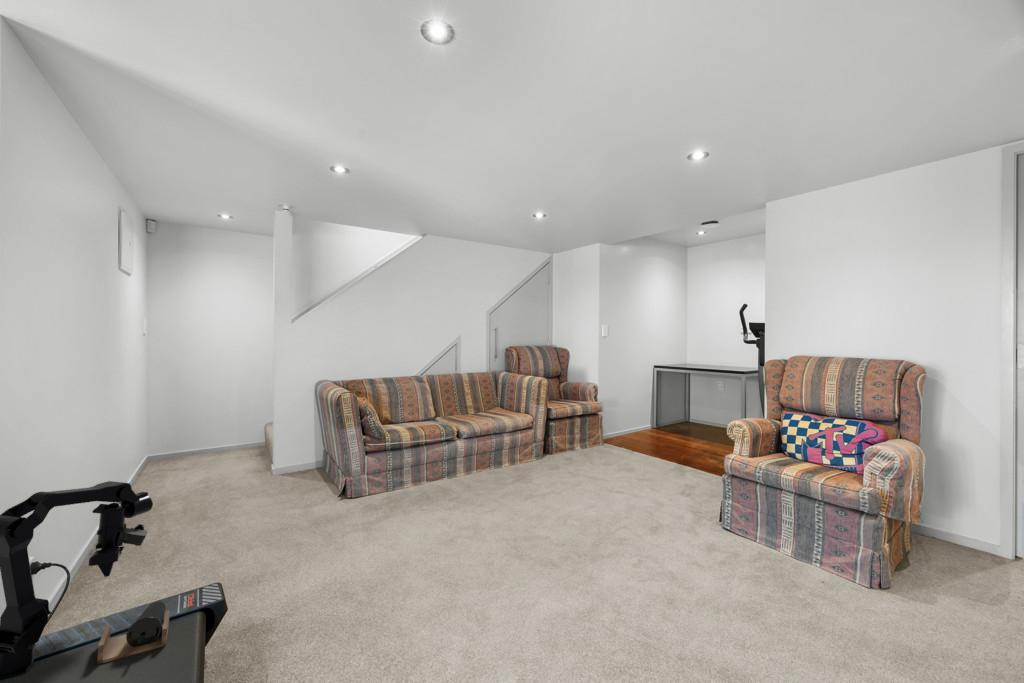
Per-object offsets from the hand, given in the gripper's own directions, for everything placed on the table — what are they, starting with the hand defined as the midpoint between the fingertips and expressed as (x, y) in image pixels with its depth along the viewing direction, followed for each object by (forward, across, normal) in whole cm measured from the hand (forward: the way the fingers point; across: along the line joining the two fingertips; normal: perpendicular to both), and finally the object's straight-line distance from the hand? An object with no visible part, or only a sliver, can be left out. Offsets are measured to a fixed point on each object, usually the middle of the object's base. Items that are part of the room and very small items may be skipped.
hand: (107, 576), depth 131 cm
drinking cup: (+10, -8, -13) cm, 18 cm away
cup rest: (+13, -19, -10) cm, 25 cm away
